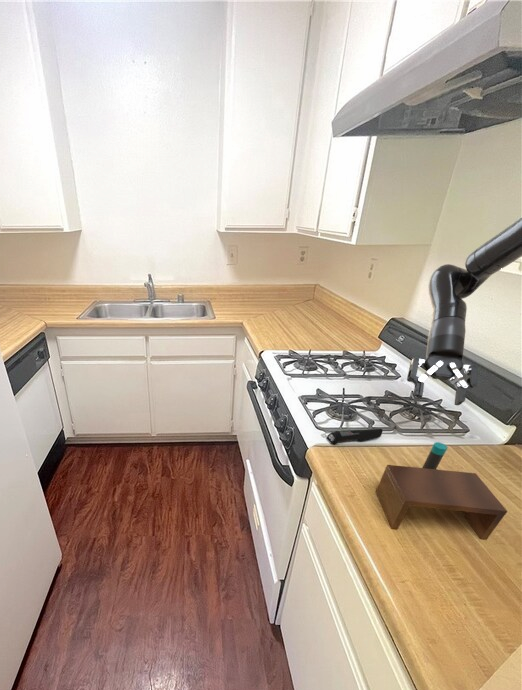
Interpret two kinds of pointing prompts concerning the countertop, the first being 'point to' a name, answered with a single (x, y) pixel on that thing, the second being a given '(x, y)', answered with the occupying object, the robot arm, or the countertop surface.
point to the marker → (435, 455)
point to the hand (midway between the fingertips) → (438, 401)
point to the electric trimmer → (353, 435)
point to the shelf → (439, 496)
